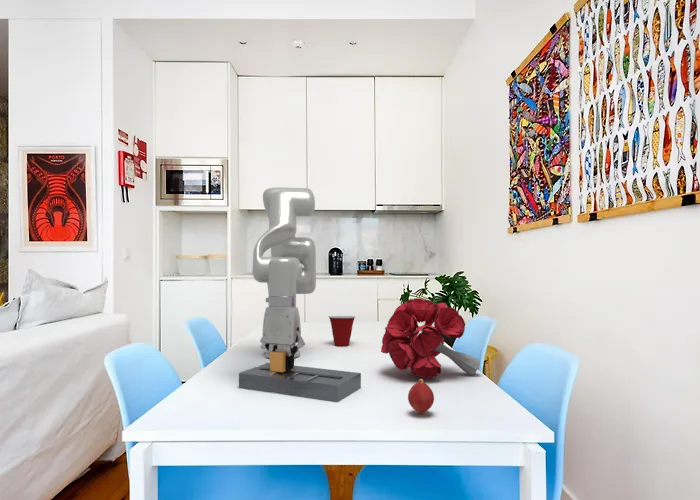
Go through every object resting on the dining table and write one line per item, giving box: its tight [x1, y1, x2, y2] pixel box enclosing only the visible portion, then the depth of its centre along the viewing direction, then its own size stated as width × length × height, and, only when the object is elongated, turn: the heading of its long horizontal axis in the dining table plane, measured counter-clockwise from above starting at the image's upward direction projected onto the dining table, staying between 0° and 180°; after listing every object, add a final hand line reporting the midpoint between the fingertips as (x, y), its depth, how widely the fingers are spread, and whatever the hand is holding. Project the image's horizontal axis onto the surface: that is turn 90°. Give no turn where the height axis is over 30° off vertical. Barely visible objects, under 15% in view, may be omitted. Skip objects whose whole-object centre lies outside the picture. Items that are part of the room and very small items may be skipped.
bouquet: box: [380, 297, 481, 379], centre depth 144 cm, size 22×24×30 cm
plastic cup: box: [328, 315, 356, 347], centre depth 193 cm, size 11×11×12 cm
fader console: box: [238, 362, 362, 403], centre depth 130 cm, size 30×14×4 cm, turn 65°
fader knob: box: [269, 349, 295, 372], centre depth 132 cm, size 4×6×5 cm
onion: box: [407, 378, 435, 415], centre depth 108 cm, size 6×6×8 cm
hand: (282, 367), depth 132 cm, fingers closed on fader knob, 4 cm apart
